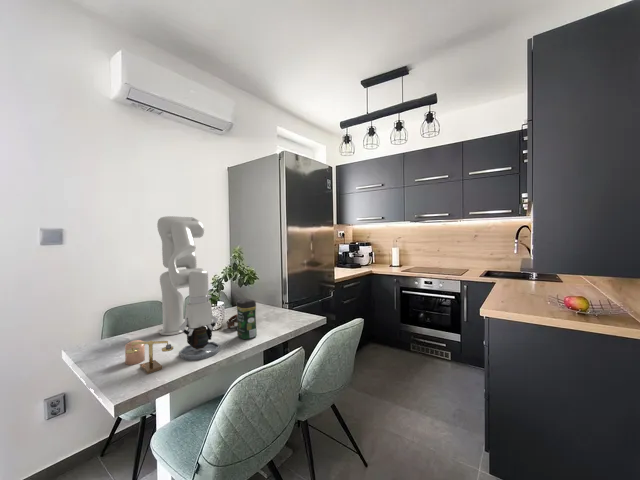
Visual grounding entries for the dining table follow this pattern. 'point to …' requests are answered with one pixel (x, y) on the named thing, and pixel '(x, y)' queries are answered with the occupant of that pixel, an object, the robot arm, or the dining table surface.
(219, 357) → the dining table surface
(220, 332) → the dining table surface
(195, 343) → the mate gourd
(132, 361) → the terracotta cup
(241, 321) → the coffee jar
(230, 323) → the pottery mug
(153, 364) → the balance
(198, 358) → the dish
